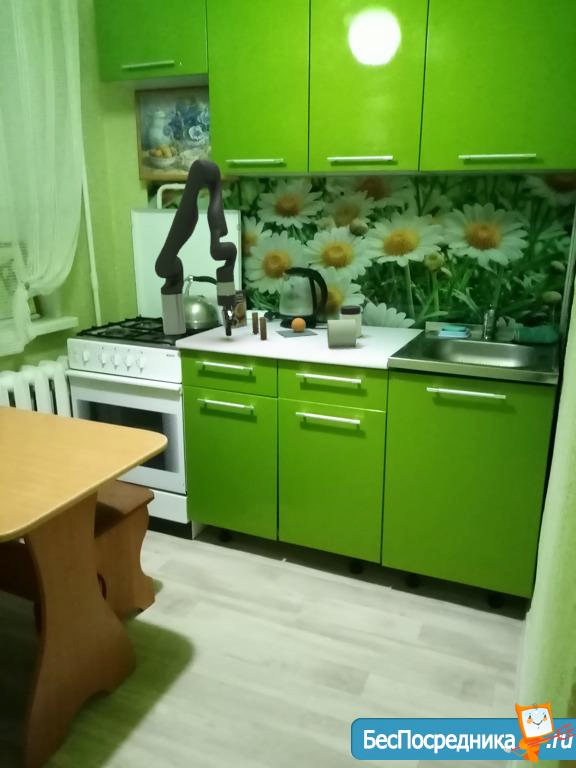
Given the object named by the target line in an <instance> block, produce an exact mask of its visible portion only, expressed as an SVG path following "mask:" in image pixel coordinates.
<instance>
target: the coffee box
mask: <svg viewBox="0 0 576 768" xmlns="http://www.w3.org/2000/svg"><path fill="white" fill-rule="evenodd" d="M235 292H236V305H232V306H231V309H232V310H233V316H234V318H233V326H232V327H231V329H237V328H241V327H240V326H242V327H244V326H243V325H246V326H248V317H247V316H248V315H247V314H248V313H247V296H246V294H247V293H246V290H245V289H235ZM223 327H224V328H225V326H223ZM236 327H237V328H236Z"/></svg>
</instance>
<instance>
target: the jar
mask: <svg viewBox="0 0 576 768" xmlns="http://www.w3.org/2000/svg"><path fill="white" fill-rule="evenodd" d="M339 309H340V314H339V320H348V319H355V322H356V339H358V338H360V337H362V311H361V306H360V305H354V304H353V305H351V304H350V305H343V306H340V307H339Z"/></svg>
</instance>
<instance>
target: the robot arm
mask: <svg viewBox="0 0 576 768" xmlns="http://www.w3.org/2000/svg"><path fill="white" fill-rule="evenodd" d="M188 170H189V171H188V173H187V177H186V180H185V181H186V182H185V186H184V188H183V192H182V195H181V198H180V201H179V204H178V207H177V209H176V212H175V214H174V217H173V220H172V223H171V226H170V229H169V231H168V232H167V235H166V239H165V241H164V243H163V246H162V248H161V250H160V252H159V253H158V255H157V257H156V260H155V263H154V272H155V274H156V275H157V276H158V278H160V279H165V281H164V284H162V285H161V288H160V298H161V307H162V310H161V315H162V324H163V325H162V326H163V327H162V328H163V333H164V335H165V336H168V335H169V336H172V335H173V336H174V335H182V334H185V333H186V332H187V330H186V329H187V328H186V317H185V315H186V314H185V305H184V292H183V291H184V290H183V289H184V285H185V278H184V277H185V276H184V272H185V271H184V264H183V262H182V259H181V258H180V257H179V256H178V254H179V252H180V251H181V249H182V248H183V247H184V246H185V245H186V243H187V242H188V241H189V239H191V237H192V236H193V234H194V232H195V230H196V226H197V225H198V222H199V217H200V216H199V214H200V213H199V206H198V197H199V194H200V191H201V189H202V186H206V188H207V190H208V194H209V204H208V207H207V211H206V220H207V225H208V229H209V234H210V235H209V236H210V241H209V243H210V244H209V254H210V257H211V258H212V259H213V260H214V261H216V262H221V261H222V262H223V261H224V264H223V265H222V266H218V267H217V268H216V271H215V276H216V277H215V278H216V279H215V280H216V288H215V289H216V304H217V306H219V307H222V309H221V312H220V313H221V316H222V321H223V323H222V324H223V325H224V326H225V327H224V326H223V327H224V331H225V332H224V333H225V336H226V337H231V336H232V334H233V333H232V328H231V327H232V326H233V318H234V316H233V310H232V309H231V306H232V305H236V292H235V290H236V284H235V272H234V271H235V266H236V261H237V257H238V249H237V245H236V244H235V243H234V242H233V241H222V242H221V241H220V239H221V238H224V237H226V236H228V234H229V229H228V224H227V220H226V215H225V212H224V203H223V187H222V176H221V175H222V174H221V170H220V167H219V165H218V164H217V163H216V162H213V161H210V160H206V159H200V158H198V159H195V160H194V161H193V162H192V163H191V165H190V167H189V169H188Z"/></svg>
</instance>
